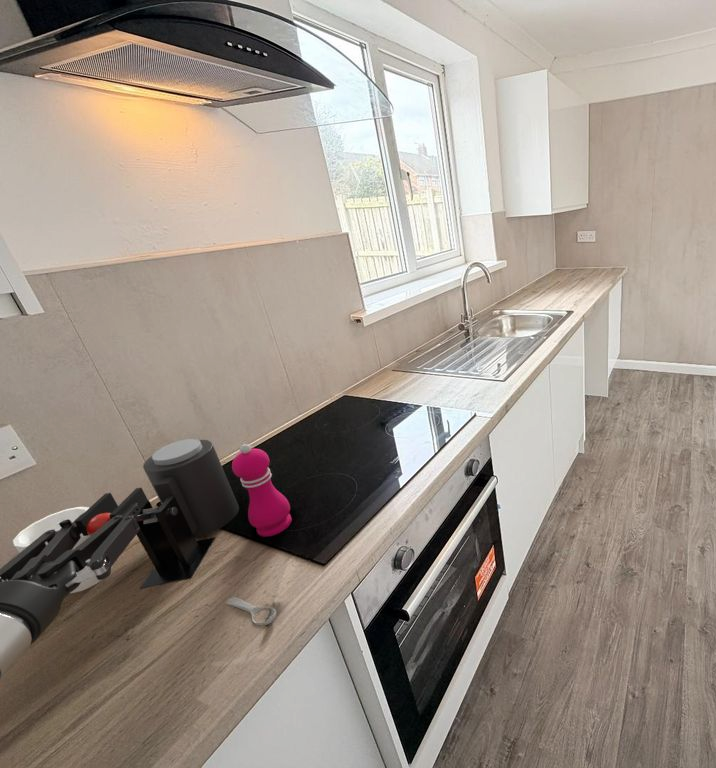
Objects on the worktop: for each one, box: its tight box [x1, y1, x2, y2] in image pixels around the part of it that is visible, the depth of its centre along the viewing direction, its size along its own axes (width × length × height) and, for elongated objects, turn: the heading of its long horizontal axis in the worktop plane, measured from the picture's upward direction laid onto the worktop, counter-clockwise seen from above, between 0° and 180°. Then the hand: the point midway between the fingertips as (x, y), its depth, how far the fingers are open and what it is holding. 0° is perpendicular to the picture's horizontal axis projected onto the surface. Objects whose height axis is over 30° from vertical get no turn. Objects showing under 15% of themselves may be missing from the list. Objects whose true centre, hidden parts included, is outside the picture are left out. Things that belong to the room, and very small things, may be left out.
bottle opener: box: [225, 596, 277, 626], centre depth 66 cm, size 3×12×2 cm, turn 67°
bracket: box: [136, 496, 217, 590], centre depth 73 cm, size 10×8×14 cm
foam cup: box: [12, 506, 104, 594], centre depth 72 cm, size 10×9×13 cm
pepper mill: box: [231, 443, 293, 538], centre depth 79 cm, size 7×7×20 cm
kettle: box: [142, 438, 240, 539], centre depth 83 cm, size 16×11×18 cm
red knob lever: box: [86, 506, 160, 536], centre depth 66 cm, size 14×4×4 cm
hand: (126, 497), depth 66 cm, fingers closed on red knob lever, 4 cm apart
